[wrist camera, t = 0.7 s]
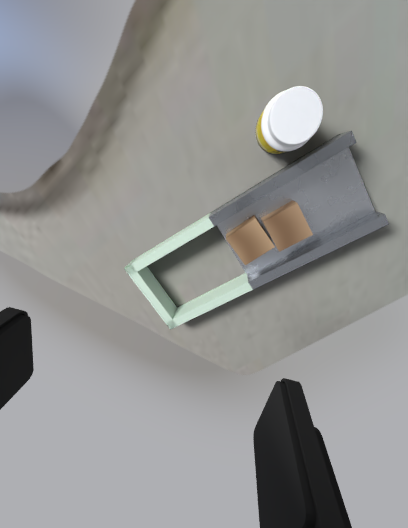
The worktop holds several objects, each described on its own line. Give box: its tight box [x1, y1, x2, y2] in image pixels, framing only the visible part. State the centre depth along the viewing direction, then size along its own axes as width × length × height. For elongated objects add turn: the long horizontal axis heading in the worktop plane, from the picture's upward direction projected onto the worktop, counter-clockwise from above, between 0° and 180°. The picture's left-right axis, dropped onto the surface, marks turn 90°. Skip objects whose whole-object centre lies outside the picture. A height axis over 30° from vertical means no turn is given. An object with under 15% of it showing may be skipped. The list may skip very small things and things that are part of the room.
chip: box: [226, 215, 275, 265], centre depth 30 cm, size 4×4×2 cm
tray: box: [124, 213, 253, 329], centre depth 33 cm, size 13×10×3 cm
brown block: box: [261, 200, 313, 252], centre depth 29 cm, size 4×4×2 cm
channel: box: [209, 131, 389, 289], centre depth 29 cm, size 16×10×3 cm, turn 122°
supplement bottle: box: [255, 86, 323, 154], centre depth 23 cm, size 5×5×8 cm
